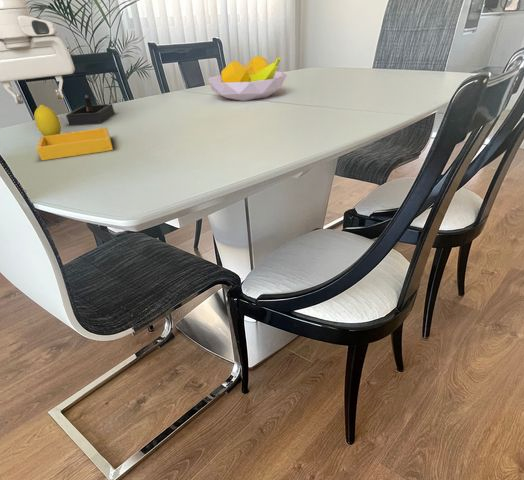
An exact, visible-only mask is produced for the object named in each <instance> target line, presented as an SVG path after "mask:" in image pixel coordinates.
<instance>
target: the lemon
mask: <svg viewBox="0 0 524 480" xmlns="http://www.w3.org/2000/svg"><path fill="white" fill-rule="evenodd" d="M33 114H34V115H33V116H34V117H33V118H34V123H35V125H36V128H37V129H38V131H39V132H40V134H41V135H42V136H48V135H56V134H61V132H62V125H61V122H60V119H59V117H58V115H57V114H56V112H55V111H54V110H53V109H52V108H50V107H48V106H47V105H46V106H45V105H43V104H39V106H38V107H36V109H35V110H34V113H33Z"/></svg>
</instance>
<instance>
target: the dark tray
mask: <svg viewBox="0 0 524 480" xmlns="http://www.w3.org/2000/svg"><path fill="white" fill-rule="evenodd" d="M92 107H93V110H94V113H87V111H86V105H81V106H80V107H78V108H76V109H74V110H73V111H71V112H69V113H67V114H65V116H66V120H67V122H68V125H69V126H77V125H92V124H93V125H95V124H103V122H104V121H106V120H108V119H109V118H111V117H112V116H113V115H115V114H116V113H115V110H114V105H113V104H112V103H109V104H108V103H107V104H92Z"/></svg>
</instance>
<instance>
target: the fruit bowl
mask: <svg viewBox="0 0 524 480" xmlns="http://www.w3.org/2000/svg"><path fill="white" fill-rule="evenodd" d="M280 62H281V57H279V56H278V57H276V59H275V60H274V61H273V62H271V63H270V62H269V61H268V60H267V59H266V58H265V57H263V56H262V55H258V56H254V57H252V58H251V59H250V60H249V61H248V62H247V63H246V64H245V66H244V65H243V64H242V63H241V62H239V61H238V60H232V61H230V62H229V63H228V64H227V65H226V66H225V67H224V68H223V69H222V70H221V71H220V74H218V75H214V76H211V77H208V83H209V86H210V89H211V91H212V92H214V93H216V94H218V95H220V96H222V97H224V98H226V99H227V100H235V101H241V102H246V101H247V102H248V101H252V100H253V101H254V100H259V99H265V98H268V97H270V96H271V95H272V94H274V93H275V92H276V91H278V90H279V89H280V88H281V87H282V86H283V84H284V81H285V80H286V78H287V76H288V74H287V73H286V72H284V71H279V70H278V71H277V69H278V65H279V63H280Z"/></svg>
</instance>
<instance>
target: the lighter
mask: <svg viewBox="0 0 524 480" xmlns="http://www.w3.org/2000/svg"><path fill="white" fill-rule="evenodd" d="M84 100H85V106H86V111H87V113H94V110H93V107H92V105H93V104H92V101H91V98H90V97H89V96H88V94H85V95H84Z"/></svg>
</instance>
